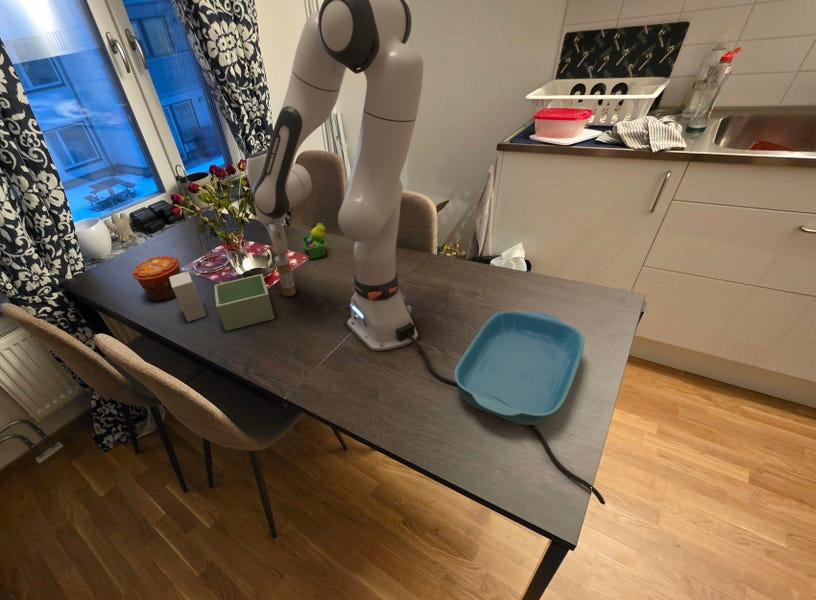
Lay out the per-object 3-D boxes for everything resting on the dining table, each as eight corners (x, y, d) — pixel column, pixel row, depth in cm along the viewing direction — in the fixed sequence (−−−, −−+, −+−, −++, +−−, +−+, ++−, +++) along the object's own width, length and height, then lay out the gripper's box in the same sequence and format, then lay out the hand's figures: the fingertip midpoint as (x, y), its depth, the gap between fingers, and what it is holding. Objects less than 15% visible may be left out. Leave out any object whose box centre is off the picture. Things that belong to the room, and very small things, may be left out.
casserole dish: (545, 454, 75) (554, 431, 71) (437, 410, 86) (439, 388, 82) (584, 347, 96) (594, 323, 92) (494, 322, 107) (498, 301, 103)
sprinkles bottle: (291, 288, 134) (283, 252, 125) (298, 293, 131) (291, 256, 122) (280, 293, 132) (271, 257, 123) (287, 298, 129) (279, 261, 120)
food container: (135, 303, 138) (121, 276, 131) (160, 280, 150) (148, 254, 142) (174, 304, 134) (161, 277, 127) (196, 281, 146) (186, 254, 139)
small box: (183, 310, 131) (168, 276, 122) (202, 304, 132) (188, 270, 124) (187, 322, 125) (171, 287, 116) (206, 316, 126) (192, 281, 118)
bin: (274, 318, 121) (268, 293, 115) (225, 331, 119) (216, 306, 113) (268, 297, 131) (262, 273, 125) (222, 308, 129) (214, 285, 123)
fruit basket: (303, 249, 156) (298, 222, 149) (324, 245, 157) (321, 217, 150) (308, 261, 148) (303, 233, 140) (331, 256, 149) (327, 228, 141)
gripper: (288, 222, 106) (296, 267, 115) (276, 199, 121) (284, 240, 130) (266, 227, 105) (276, 272, 114) (256, 202, 120) (265, 244, 129)
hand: (280, 255), depth 123 cm, fingers open, 8 cm apart
